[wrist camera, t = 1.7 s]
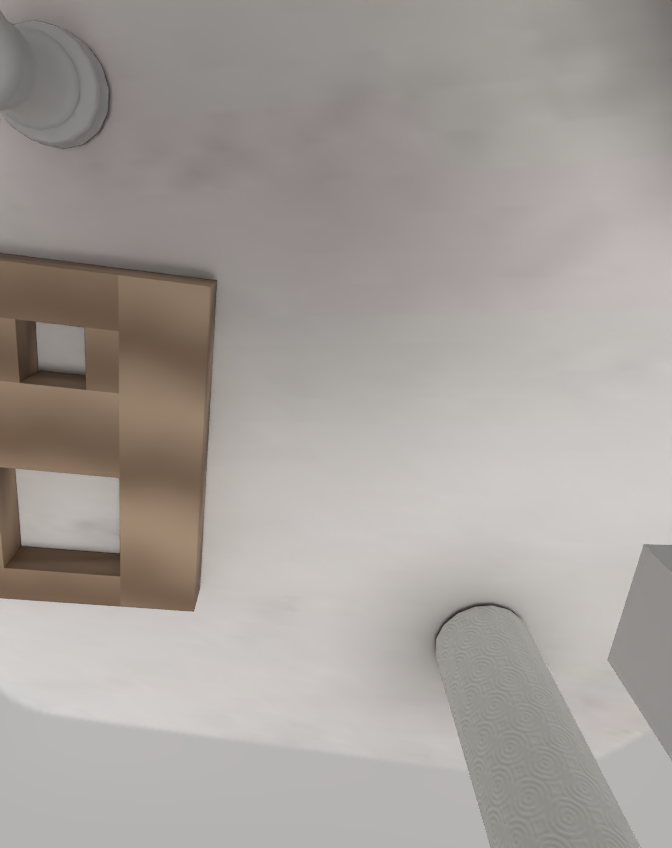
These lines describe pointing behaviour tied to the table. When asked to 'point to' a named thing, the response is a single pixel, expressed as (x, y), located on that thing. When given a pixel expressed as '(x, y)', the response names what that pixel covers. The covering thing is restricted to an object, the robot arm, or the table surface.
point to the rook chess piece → (50, 84)
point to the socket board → (109, 426)
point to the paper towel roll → (523, 740)
